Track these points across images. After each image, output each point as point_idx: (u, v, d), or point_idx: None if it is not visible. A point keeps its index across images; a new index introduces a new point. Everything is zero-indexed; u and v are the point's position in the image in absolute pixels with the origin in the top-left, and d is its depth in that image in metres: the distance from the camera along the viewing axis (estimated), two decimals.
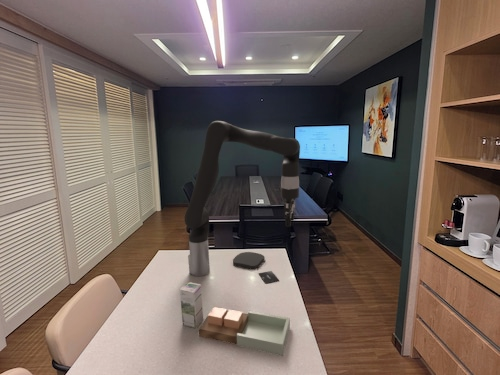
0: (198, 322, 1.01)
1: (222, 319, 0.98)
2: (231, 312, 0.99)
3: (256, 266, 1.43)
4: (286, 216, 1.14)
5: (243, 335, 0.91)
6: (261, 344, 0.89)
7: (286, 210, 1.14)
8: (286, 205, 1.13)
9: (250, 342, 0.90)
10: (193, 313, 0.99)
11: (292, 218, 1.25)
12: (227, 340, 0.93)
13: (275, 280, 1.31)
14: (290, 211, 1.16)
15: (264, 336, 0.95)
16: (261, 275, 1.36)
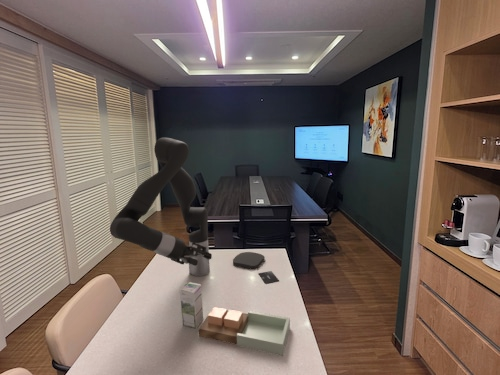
0: (198, 322, 1.01)
1: (222, 319, 0.98)
2: (231, 312, 0.99)
3: (256, 266, 1.43)
4: None
5: (243, 335, 0.91)
6: (261, 344, 0.89)
7: None
8: None
9: (250, 342, 0.90)
10: (193, 313, 0.99)
11: None
12: (227, 340, 0.93)
13: (275, 280, 1.31)
14: None
15: (264, 336, 0.95)
16: (261, 275, 1.36)
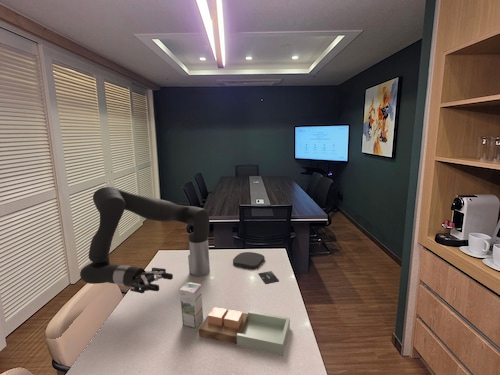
0: (198, 322, 1.01)
1: (222, 319, 0.98)
2: (231, 312, 0.99)
3: (256, 266, 1.43)
4: None
5: (243, 335, 0.91)
6: (261, 344, 0.89)
7: None
8: None
9: (250, 342, 0.90)
10: (193, 313, 0.99)
11: None
12: (227, 340, 0.93)
13: (275, 280, 1.31)
14: None
15: (264, 336, 0.95)
16: (261, 275, 1.35)
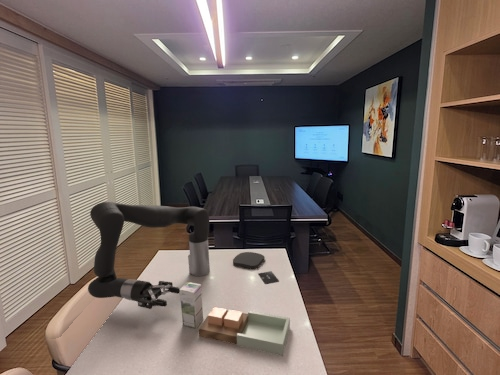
0: (198, 322, 1.01)
1: (222, 319, 0.98)
2: (231, 312, 0.99)
3: (256, 266, 1.43)
4: None
5: (243, 335, 0.91)
6: (261, 344, 0.89)
7: None
8: None
9: (250, 342, 0.90)
10: (193, 313, 0.99)
11: None
12: (227, 340, 0.93)
13: (275, 280, 1.30)
14: None
15: (264, 336, 0.95)
16: (261, 275, 1.35)
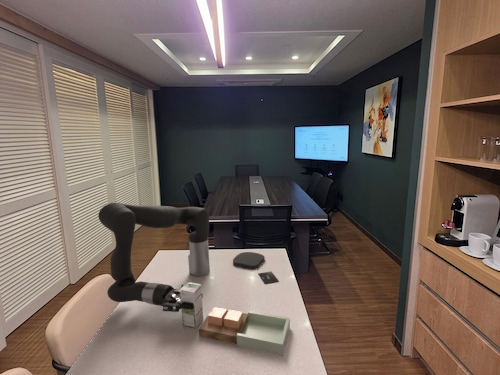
0: (198, 322, 1.01)
1: (222, 319, 0.98)
2: (231, 312, 0.99)
3: (256, 266, 1.43)
4: None
5: (243, 335, 0.91)
6: (261, 344, 0.89)
7: None
8: None
9: (250, 342, 0.90)
10: (193, 313, 0.99)
11: None
12: (227, 340, 0.93)
13: (274, 281, 1.30)
14: None
15: (264, 336, 0.95)
16: (261, 275, 1.35)
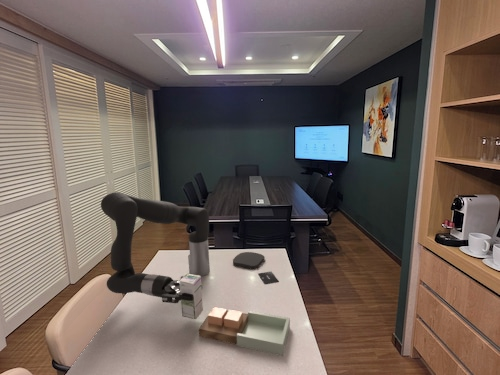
0: (198, 313, 1.01)
1: (222, 319, 0.98)
2: (231, 312, 0.99)
3: (256, 266, 1.43)
4: None
5: (243, 335, 0.91)
6: (261, 344, 0.89)
7: None
8: None
9: (250, 342, 0.90)
10: (193, 304, 0.98)
11: None
12: (227, 340, 0.93)
13: (274, 281, 1.30)
14: None
15: (264, 336, 0.95)
16: (261, 275, 1.35)
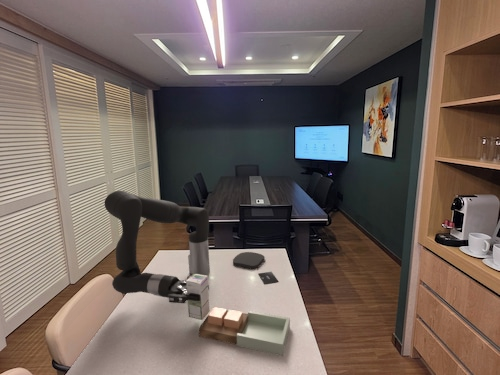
0: (204, 314, 1.00)
1: (222, 319, 0.98)
2: (231, 312, 0.99)
3: (256, 266, 1.43)
4: None
5: (243, 335, 0.91)
6: (261, 344, 0.89)
7: None
8: None
9: (250, 342, 0.90)
10: (199, 305, 0.97)
11: None
12: (227, 340, 0.93)
13: (274, 281, 1.30)
14: None
15: (264, 336, 0.95)
16: (261, 275, 1.35)
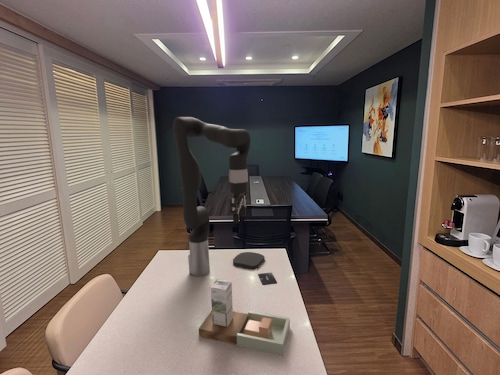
0: (229, 321, 0.97)
1: None
2: (270, 324, 0.95)
3: (256, 266, 1.43)
4: (232, 211, 1.08)
5: (243, 335, 0.91)
6: (261, 344, 0.89)
7: (232, 205, 1.07)
8: (232, 200, 1.07)
9: (250, 342, 0.90)
10: (224, 311, 0.95)
11: (244, 214, 1.19)
12: (227, 340, 0.93)
13: (273, 282, 1.29)
14: (238, 206, 1.10)
15: None
16: (260, 276, 1.35)
